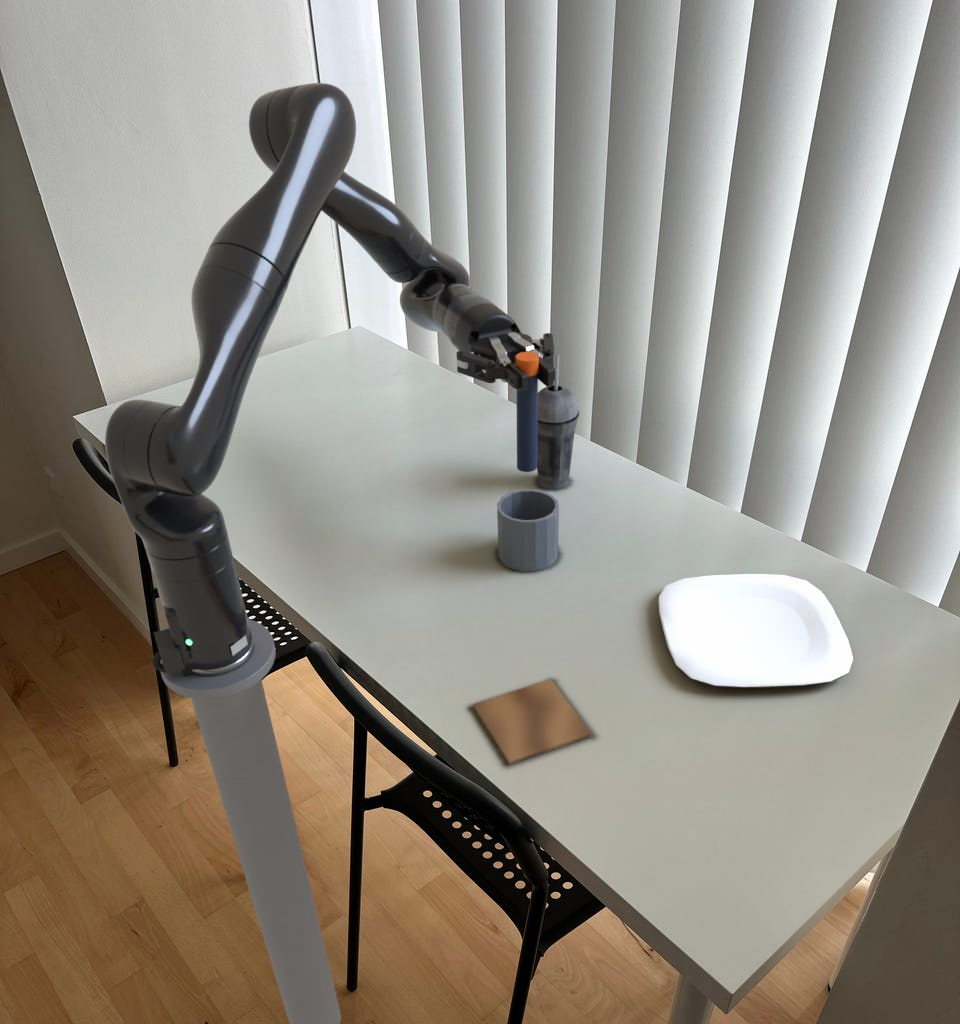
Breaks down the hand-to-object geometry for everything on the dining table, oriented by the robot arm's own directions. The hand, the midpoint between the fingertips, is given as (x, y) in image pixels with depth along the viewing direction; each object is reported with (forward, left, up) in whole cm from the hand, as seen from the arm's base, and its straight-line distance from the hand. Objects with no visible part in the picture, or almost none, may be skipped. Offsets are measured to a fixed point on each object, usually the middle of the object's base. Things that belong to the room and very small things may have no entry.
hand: (537, 381), depth 116 cm
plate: (+17, -25, -27) cm, 41 cm away
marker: (0, +3, -13) cm, 13 cm away
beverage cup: (+12, +19, -27) cm, 36 cm away
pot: (0, +3, -27) cm, 27 cm away
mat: (-14, -27, -27) cm, 40 cm away
